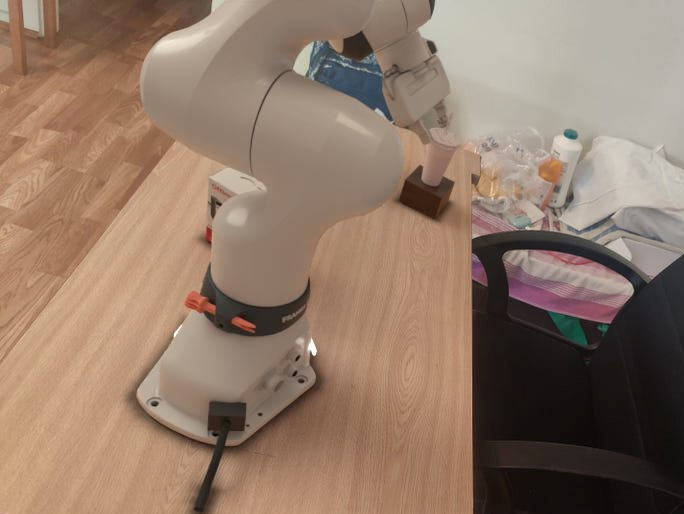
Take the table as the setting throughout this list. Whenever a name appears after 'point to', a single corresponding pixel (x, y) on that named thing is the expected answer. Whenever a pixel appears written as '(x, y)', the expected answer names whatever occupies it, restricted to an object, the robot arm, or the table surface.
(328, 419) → the table surface
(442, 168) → the smoothie
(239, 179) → the ink box
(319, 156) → the robot arm
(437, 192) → the block
